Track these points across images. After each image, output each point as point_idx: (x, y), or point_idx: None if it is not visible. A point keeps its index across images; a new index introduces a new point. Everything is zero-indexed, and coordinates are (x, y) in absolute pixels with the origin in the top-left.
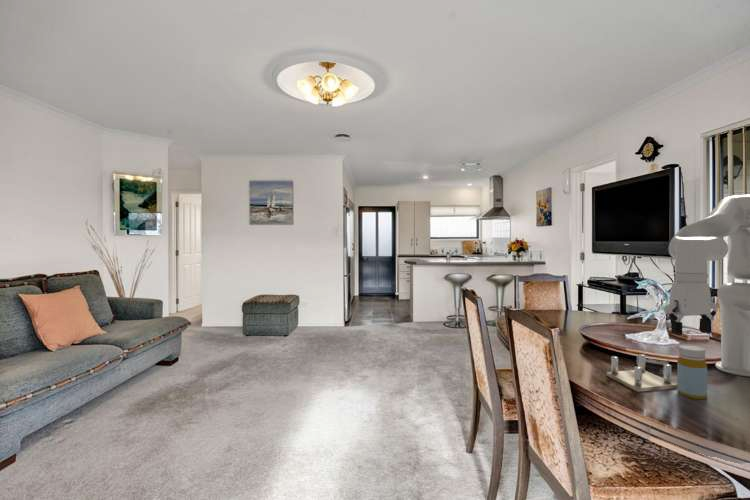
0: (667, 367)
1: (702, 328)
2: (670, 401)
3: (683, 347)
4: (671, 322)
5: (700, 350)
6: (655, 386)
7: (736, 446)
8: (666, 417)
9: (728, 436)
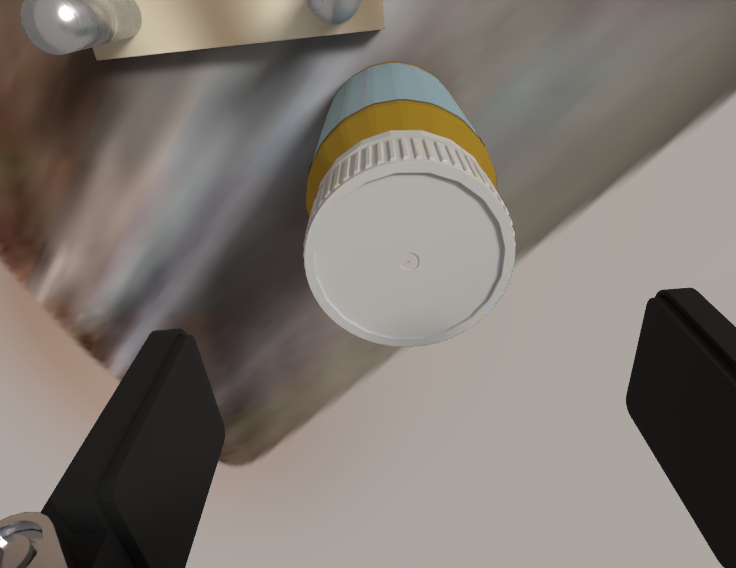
0: (317, 18)
1: (666, 359)
2: (223, 193)
3: (342, 236)
4: (46, 504)
5: (411, 342)
6: (223, 44)
7: (229, 465)
8: (120, 321)
9: (249, 429)
